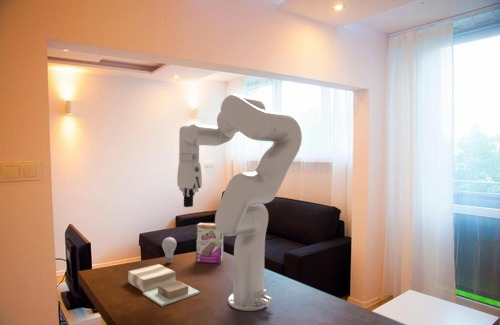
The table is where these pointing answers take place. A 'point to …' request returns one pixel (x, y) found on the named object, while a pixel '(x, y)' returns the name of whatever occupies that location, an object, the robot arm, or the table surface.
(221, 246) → the candy bar box
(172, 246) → the lightbulb
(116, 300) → the table surface
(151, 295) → the sage mat
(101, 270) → the table surface
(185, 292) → the walnut block
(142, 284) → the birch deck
